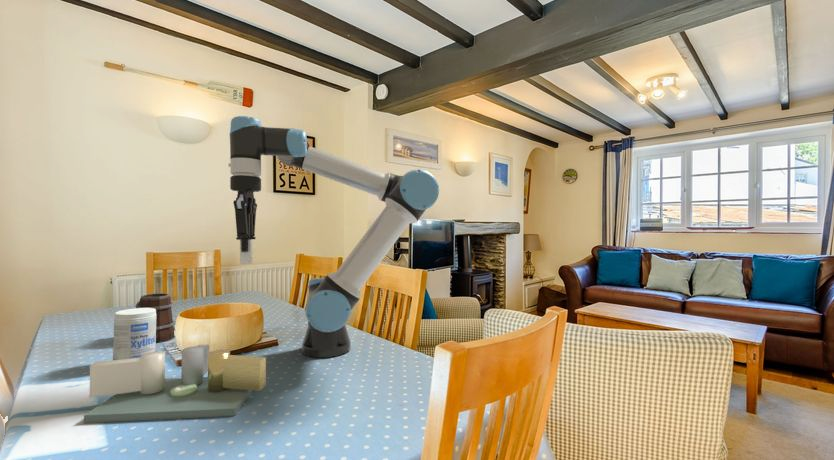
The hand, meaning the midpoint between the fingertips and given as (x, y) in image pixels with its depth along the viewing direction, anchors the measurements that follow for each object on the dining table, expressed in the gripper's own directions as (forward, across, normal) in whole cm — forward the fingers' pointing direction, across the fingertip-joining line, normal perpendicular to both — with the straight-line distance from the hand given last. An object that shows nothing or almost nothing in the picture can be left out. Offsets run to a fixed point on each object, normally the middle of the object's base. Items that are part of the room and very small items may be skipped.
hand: (246, 263), depth 98 cm
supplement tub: (+29, -10, -32) cm, 44 cm away
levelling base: (+29, +16, -9) cm, 34 cm away
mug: (+29, -34, -41) cm, 60 cm away
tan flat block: (+27, +15, +2) cm, 31 cm away
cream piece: (+27, +15, -20) cm, 37 cm away
